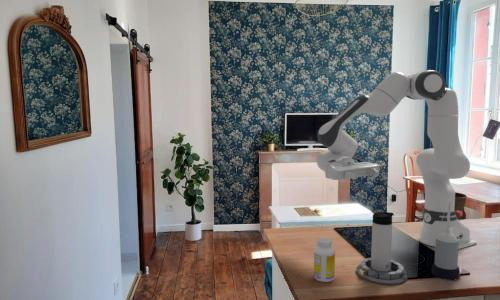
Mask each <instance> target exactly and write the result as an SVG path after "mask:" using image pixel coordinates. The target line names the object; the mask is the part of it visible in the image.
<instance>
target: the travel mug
mask: <svg viewBox="0 0 500 300" xmlns="http://www.w3.org/2000/svg"><path fill="white" fill-rule="evenodd" d="M394 215H395V214H394V212H391V211H390V212H389V211H388V212H387V211H379V212H374V213H373V215H372V221H371V222H372V225H371V227H372V229H371V254H370V258H371V269H372V270H376V271H379V272H390V271H391V260H392V245H393V244H392V243H393V240H392V239H393V237H392V236H393V217H394Z"/></svg>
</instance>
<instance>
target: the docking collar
mask: <svg viewBox="0 0 500 300" xmlns="http://www.w3.org/2000/svg"><path fill="white" fill-rule="evenodd" d="M359 263H360V264H358V265H357V266H356V274H357V275H358V276H359V277H360V278H361V279H364V280H365V281H368V282H369V283H374V284H376V285H377V284H379V285H385V286H393V285H394V286H395V285H400V284H404V283H405V282H407V280H408V273H407V271H406V270H405V268H404V265H402V263H399V262H398V261H395V260H393V259H391V271H390V272H379V271H376V270H372V269H371V257H368V258H367V257H366V258H364V259H362V260H361V261H360V262H359Z"/></svg>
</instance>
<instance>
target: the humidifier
mask: <svg viewBox="0 0 500 300" xmlns="http://www.w3.org/2000/svg"><path fill="white" fill-rule="evenodd" d="M443 212H444V208H443ZM450 213H451V202H450V201H449V205H448V214H447V228H446V231H445V232H442V233H440V234H438V235H437V237H436V244H435V248H434V249H435V251H434V262H433V263H432V266H431V274H432V275H433V277H436V278H438V279H442V280H445V279H446V280H445V281H456V280H455V279H457V280H459V279H460V278H461V276H462V275H461V273H460V268H459V266H458V264H459V263H458V260H459V249H458V246H459V242H458V239H457V237H456V236H455V235H454V234H452V233H451V232H450V230H449V229H450ZM443 216H444V215H443ZM442 218H443V217H442ZM442 221H443V219H442ZM442 231H443V225H442ZM458 278H459V279H458Z"/></svg>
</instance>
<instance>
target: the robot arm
mask: <svg viewBox="0 0 500 300" xmlns="http://www.w3.org/2000/svg"><path fill="white" fill-rule="evenodd" d="M405 98H408V99H411V100H415V101H416V100H417V101H418V100H424V101H425V103H426V105H427V127H426V128H427V129H426V130H427V131H426V134H427V137H428V138H429V139H430V142H431V143H432V148H425V149H422V150H421V151H420V152H419V153H418V154H417V156H416V165H417V167H418V168H419V170H420V172H421V176H422V182H423V185H424V207H423V209H422V216H423V218H422V219H423V220H422V224H421V230H420V233H419V237H418V240H419V241H420V243H422V244H424V245H427V246H431V247H435V244H436V237H437V235H438V234H440V233H442V232H445V231H446V228H447V214H448V205H449V201H450V202H451V213H450V229H449V230H450V232H451V233H452V234H454V235H455V236H456V237H457V239H458V242H459V246H458V250H461V249H464V248H467V247H470V246H474V245H477V241H476V240H475V239H473V238H471V233H470V229H469V227H468V226H467V225H465V224H464V223H463V222H462V221H461V220H460V221H459V220H458V218H457V215H458V216H461V217H462V216H463V213H464V212H463V213H462V212H461V211H455V210H454V206H455V192H456V191H455V189H454V188H453V186H452V184H451V181H450V180H451V179H453V180H457V179H463V178H465V176H467V174H468V173H469V172H470V168H471V162H470V160H469V159H468V157H467V156H466V155H465V153H464V150H463V149H462V145H461V142H460V137H459V101H458V97H457V93H456V91H455V90H454V89H452V88H450V87H448V85H447V83H446V80H445V78H444V75H442V73H440V72H439V71H437V70H433V69H432V70H431V69H428V70H422V71H419V72H415V73H414V74H411V75H408V76H407V75H406V74H404V73H402V72H400V71H394V72H391V73H390V74H389V75H387V76H386V77H385V78H384V79H383V80H381V82H380V83H378V85H376V87H375V89H373V90H372V91H371V92H370V93H368V94H362V95H358V96H357V97H356V98H355V99H353V100H352V101H351V102H350V103H349V104H348V105H346V106H344V108H343V109H342V110H340V112H339V113H337V114H336V115H335V116H334V117H332V118H331V119H330V120H328V121H327V122H325V123H324V124H322V125H321V126H320V127H319V130H318V131H317V140H318V143H319V144H321V145H322V146H323V147H326V148H327V150H325V151H321V152H319V153H318V154H317V155H316V165H317V166H318V168H319V169H320V170H321V171H323V172H324V174H325V178H326V179H329V180H334V181H340V180H349V179H352V180H358V178H361V177H368V176H374V177H379V175H380V165H379V163H378V164H377V163H375V162H367V161H362V162H355V160H354V159H355V157H356V155H357V153H358V150H359V145H358V144H359V142H357V141H356V140H355V139H354V138H353V137H352V136H351V135H349V134H348V133H347V132H346V131H345V130H344V129H343V127H344V126H345V125H347V123H349V122H350V121H351V120H352V119H353V118H354V117H356V116H357V115H358V114H361V113H362V114H363V113H364V114H369V115H371V116H375V117H384V116H385V117H386V116H388V115H389V114H390V113H392V112H393V111H394V110H395V108H396V107H397V106H398V105H399V104H400V103H401V101H402V100H403V99H405ZM443 208H444V212H443ZM443 215H444V216H443ZM442 217H443V218H442ZM442 219H443V221H442ZM442 225H443V231H442Z"/></svg>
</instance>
